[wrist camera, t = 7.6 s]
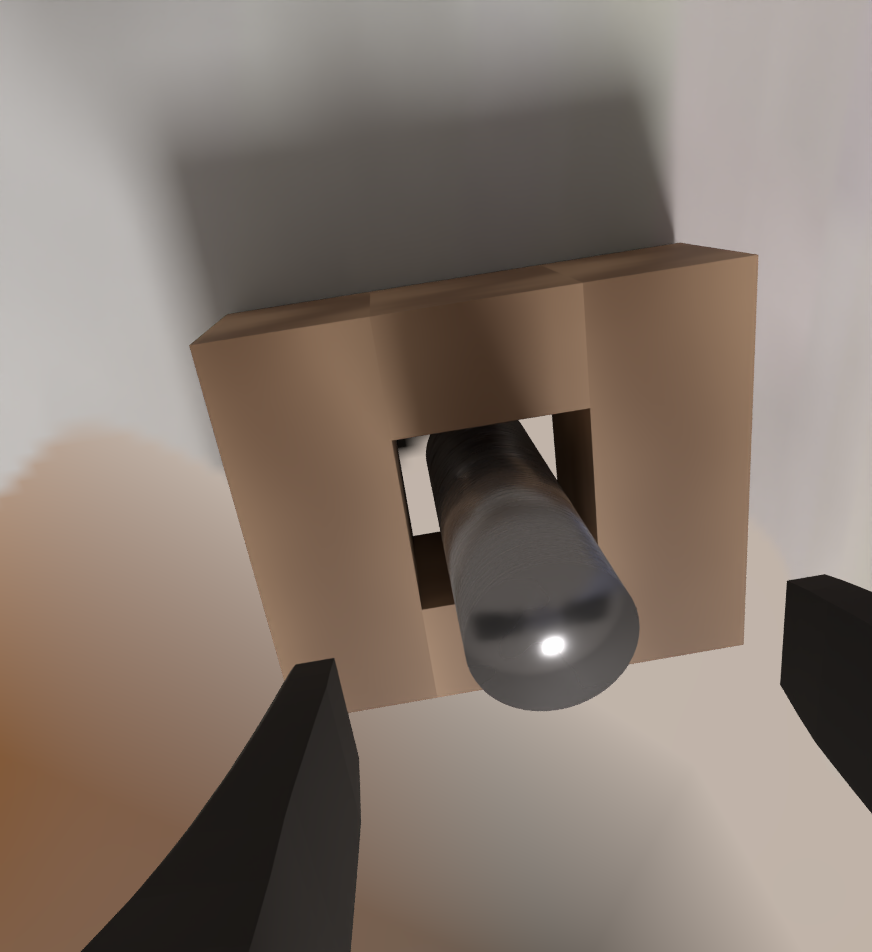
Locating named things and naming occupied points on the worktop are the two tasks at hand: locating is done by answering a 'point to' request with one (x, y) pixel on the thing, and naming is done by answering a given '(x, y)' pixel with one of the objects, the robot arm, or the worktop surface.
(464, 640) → the peg
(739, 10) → the worktop surface
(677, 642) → the hole block
